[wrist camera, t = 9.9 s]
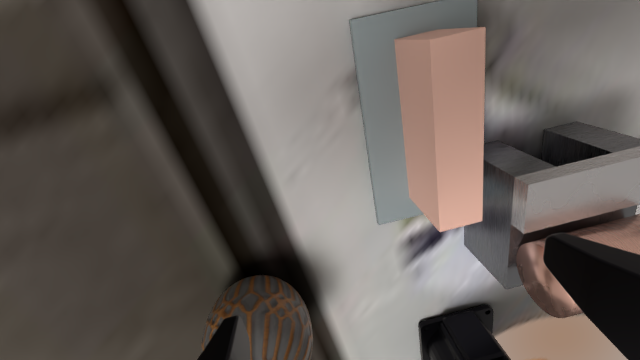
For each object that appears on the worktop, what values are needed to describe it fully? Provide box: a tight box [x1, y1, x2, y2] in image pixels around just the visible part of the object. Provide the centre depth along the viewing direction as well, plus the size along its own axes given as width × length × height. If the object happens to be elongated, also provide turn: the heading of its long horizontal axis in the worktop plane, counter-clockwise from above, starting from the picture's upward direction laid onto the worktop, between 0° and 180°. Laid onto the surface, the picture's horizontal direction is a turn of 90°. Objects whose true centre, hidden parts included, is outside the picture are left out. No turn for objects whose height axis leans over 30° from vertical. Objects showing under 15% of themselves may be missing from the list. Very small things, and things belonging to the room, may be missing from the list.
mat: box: [349, 0, 477, 225], centre depth 20 cm, size 13×7×1 cm, turn 11°
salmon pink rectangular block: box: [394, 27, 486, 232], centre depth 18 cm, size 10×2×4 cm, turn 12°
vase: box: [201, 275, 313, 360], centre depth 20 cm, size 7×7×9 cm
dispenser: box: [464, 122, 640, 318], centre depth 19 cm, size 8×8×9 cm
